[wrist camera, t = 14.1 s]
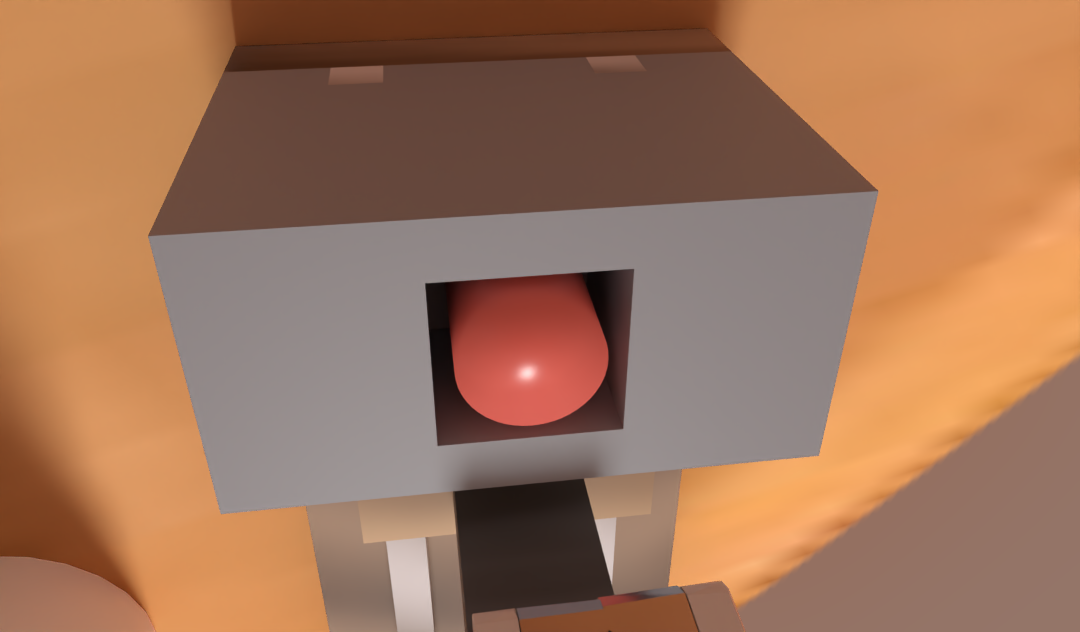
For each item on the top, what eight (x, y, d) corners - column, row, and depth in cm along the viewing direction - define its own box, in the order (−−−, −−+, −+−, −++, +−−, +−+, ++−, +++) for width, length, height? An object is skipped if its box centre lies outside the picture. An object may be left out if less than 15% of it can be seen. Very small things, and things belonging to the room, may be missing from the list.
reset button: (440, 220, 18) (450, 305, 15) (579, 211, 18) (612, 293, 16) (448, 336, 20) (458, 432, 17) (576, 326, 20) (605, 418, 17)
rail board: (235, 46, 22) (215, 89, 20) (707, 28, 24) (747, 66, 21) (343, 644, 35) (339, 720, 32) (647, 609, 36) (668, 679, 34)
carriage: (345, 351, 24) (327, 640, 16) (645, 327, 25) (758, 590, 17) (364, 492, 26) (357, 795, 19) (634, 466, 27) (728, 744, 20)
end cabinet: (235, 46, 22) (148, 236, 14) (721, 27, 24) (900, 189, 16) (273, 258, 26) (220, 514, 17) (699, 230, 27) (836, 453, 19)
